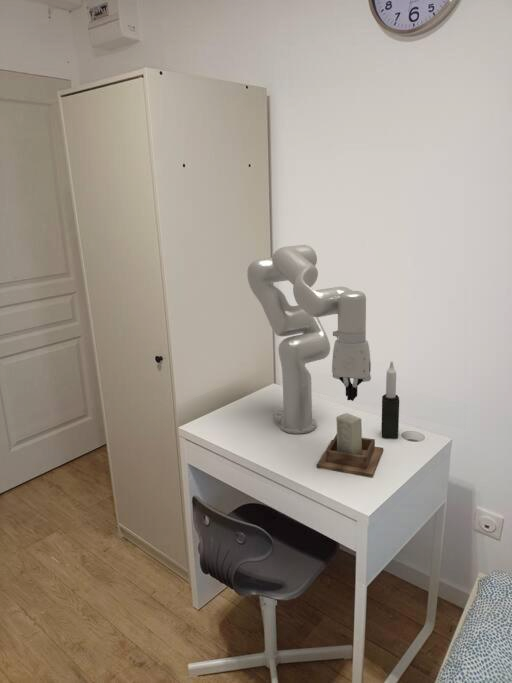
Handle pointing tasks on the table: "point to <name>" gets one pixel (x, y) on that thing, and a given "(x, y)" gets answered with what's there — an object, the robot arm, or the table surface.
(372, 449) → the tray
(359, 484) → the table surface
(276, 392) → the table surface
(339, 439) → the skincare box
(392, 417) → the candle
